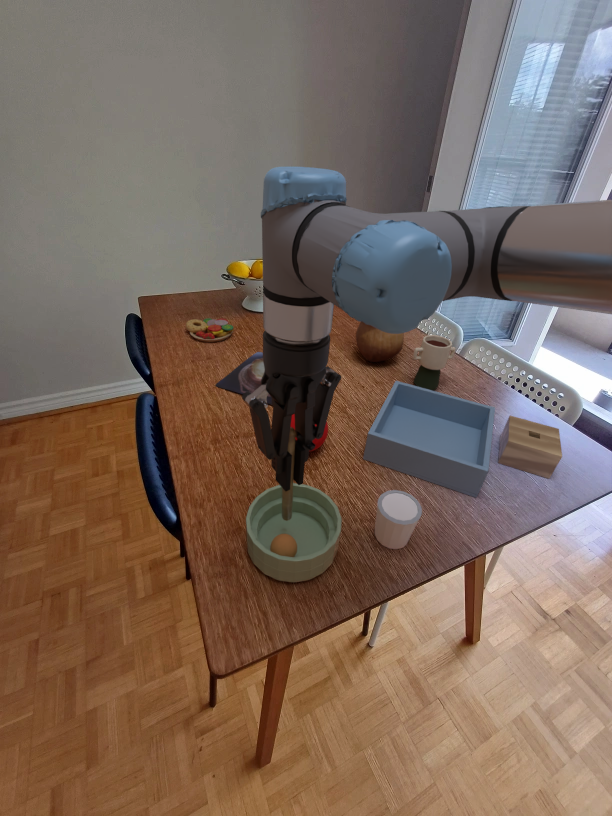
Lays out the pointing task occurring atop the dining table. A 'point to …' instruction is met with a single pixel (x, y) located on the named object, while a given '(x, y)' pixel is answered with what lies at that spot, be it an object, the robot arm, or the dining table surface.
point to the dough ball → (284, 545)
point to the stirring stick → (288, 495)
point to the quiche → (246, 376)
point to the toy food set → (209, 329)
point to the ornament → (316, 441)
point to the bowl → (294, 533)
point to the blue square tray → (433, 437)
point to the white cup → (396, 518)
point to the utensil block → (530, 447)
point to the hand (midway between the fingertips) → (289, 481)
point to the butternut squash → (377, 343)
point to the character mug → (432, 360)
